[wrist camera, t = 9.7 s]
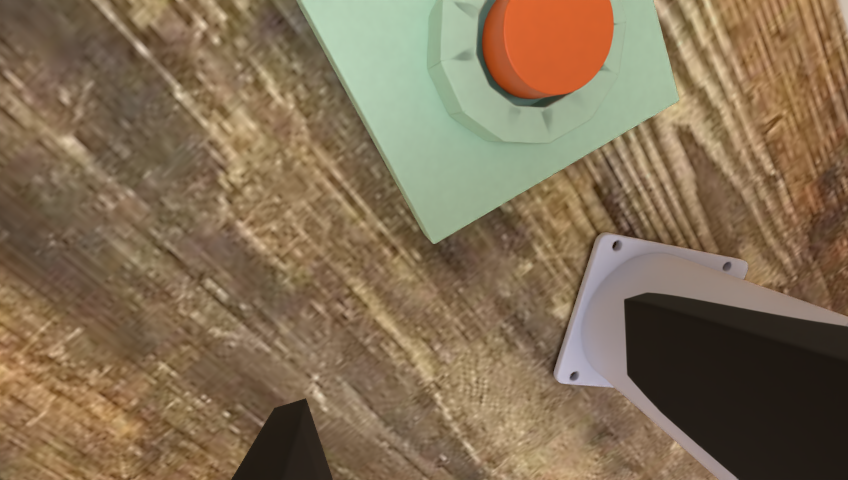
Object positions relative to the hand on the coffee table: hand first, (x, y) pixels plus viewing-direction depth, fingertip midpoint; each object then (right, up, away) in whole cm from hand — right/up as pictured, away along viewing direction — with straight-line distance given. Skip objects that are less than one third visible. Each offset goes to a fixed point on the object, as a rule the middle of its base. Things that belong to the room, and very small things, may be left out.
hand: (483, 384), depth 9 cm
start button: (+2, +10, +5) cm, 11 cm away
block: (+2, +10, +8) cm, 13 cm away
